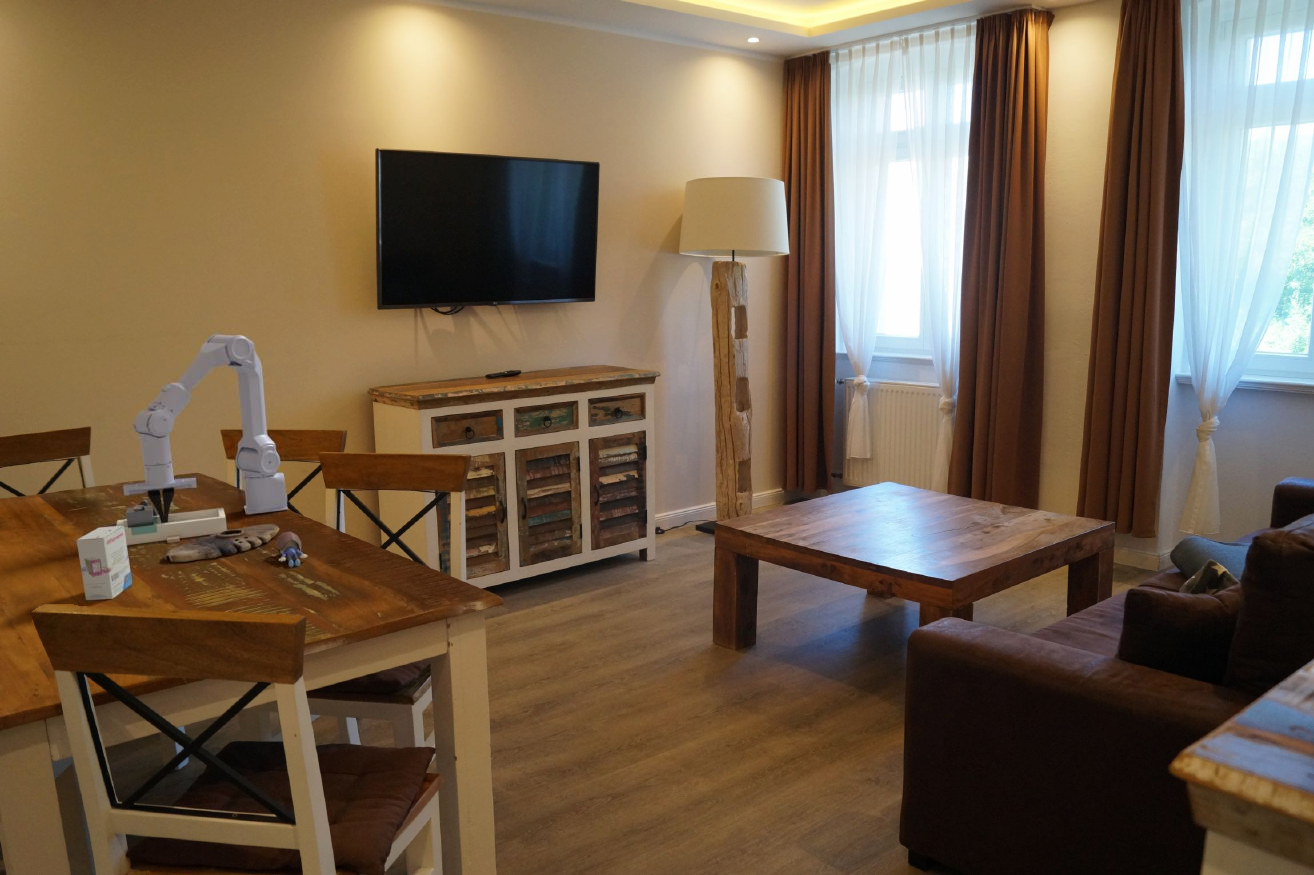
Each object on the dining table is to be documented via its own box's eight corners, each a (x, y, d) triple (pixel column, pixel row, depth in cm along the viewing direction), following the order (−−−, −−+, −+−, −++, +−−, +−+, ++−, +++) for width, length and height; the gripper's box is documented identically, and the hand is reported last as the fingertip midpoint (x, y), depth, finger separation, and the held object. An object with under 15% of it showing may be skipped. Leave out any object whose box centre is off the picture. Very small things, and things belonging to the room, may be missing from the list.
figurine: (310, 573, 196) (300, 549, 206) (308, 549, 194) (299, 527, 204) (281, 577, 193) (273, 553, 203) (279, 553, 192) (271, 530, 202)
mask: (147, 545, 203) (256, 513, 222) (150, 560, 203) (258, 527, 223) (183, 556, 194) (293, 522, 213) (186, 573, 195) (296, 537, 214)
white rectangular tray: (224, 522, 229) (223, 507, 229) (227, 535, 218) (226, 520, 217) (119, 535, 220) (117, 520, 219) (116, 549, 208) (114, 534, 207)
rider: (154, 524, 220) (151, 502, 219) (153, 529, 216) (151, 507, 215) (129, 527, 218) (126, 505, 217) (128, 532, 214) (125, 510, 213)
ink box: (106, 585, 185) (98, 525, 183) (133, 584, 185) (126, 524, 183) (83, 600, 176) (75, 538, 174) (112, 599, 177) (104, 537, 175)
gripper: (192, 456, 223) (198, 513, 226) (121, 463, 217) (128, 522, 219) (194, 461, 217) (200, 520, 219) (120, 469, 210) (128, 529, 213)
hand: (164, 522), depth 219 cm, fingers closed
